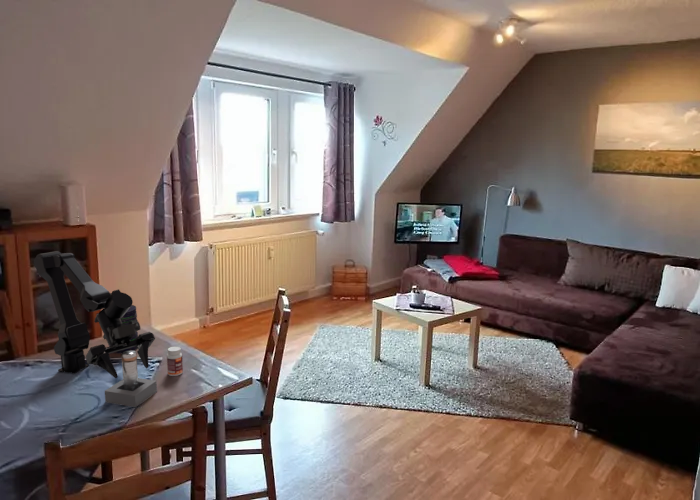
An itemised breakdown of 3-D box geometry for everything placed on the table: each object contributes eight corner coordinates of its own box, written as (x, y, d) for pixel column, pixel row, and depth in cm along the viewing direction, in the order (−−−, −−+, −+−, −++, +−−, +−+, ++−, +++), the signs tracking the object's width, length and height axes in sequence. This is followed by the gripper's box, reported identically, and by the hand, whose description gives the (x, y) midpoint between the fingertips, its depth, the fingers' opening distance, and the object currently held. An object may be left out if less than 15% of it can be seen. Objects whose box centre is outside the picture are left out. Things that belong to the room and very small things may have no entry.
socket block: (105, 402, 152) (104, 390, 151) (128, 387, 162) (127, 376, 161) (135, 407, 150) (135, 395, 149) (156, 391, 159) (156, 380, 158)
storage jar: (112, 344, 195) (109, 305, 192) (140, 342, 197) (138, 303, 194) (106, 354, 185) (103, 313, 182) (136, 352, 188) (134, 312, 185)
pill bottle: (178, 377, 169) (177, 352, 168) (164, 375, 170) (163, 350, 169) (185, 370, 174) (184, 346, 172) (172, 369, 175) (171, 345, 173)
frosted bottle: (120, 397, 154) (118, 354, 152) (129, 391, 158) (127, 349, 156) (133, 399, 153) (130, 356, 151) (142, 393, 157) (139, 351, 155)
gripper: (86, 320, 146) (107, 369, 141) (150, 306, 160) (171, 350, 155) (77, 340, 153) (96, 387, 148) (139, 324, 167) (158, 367, 162)
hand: (132, 372), depth 153 cm, fingers open, 9 cm apart
